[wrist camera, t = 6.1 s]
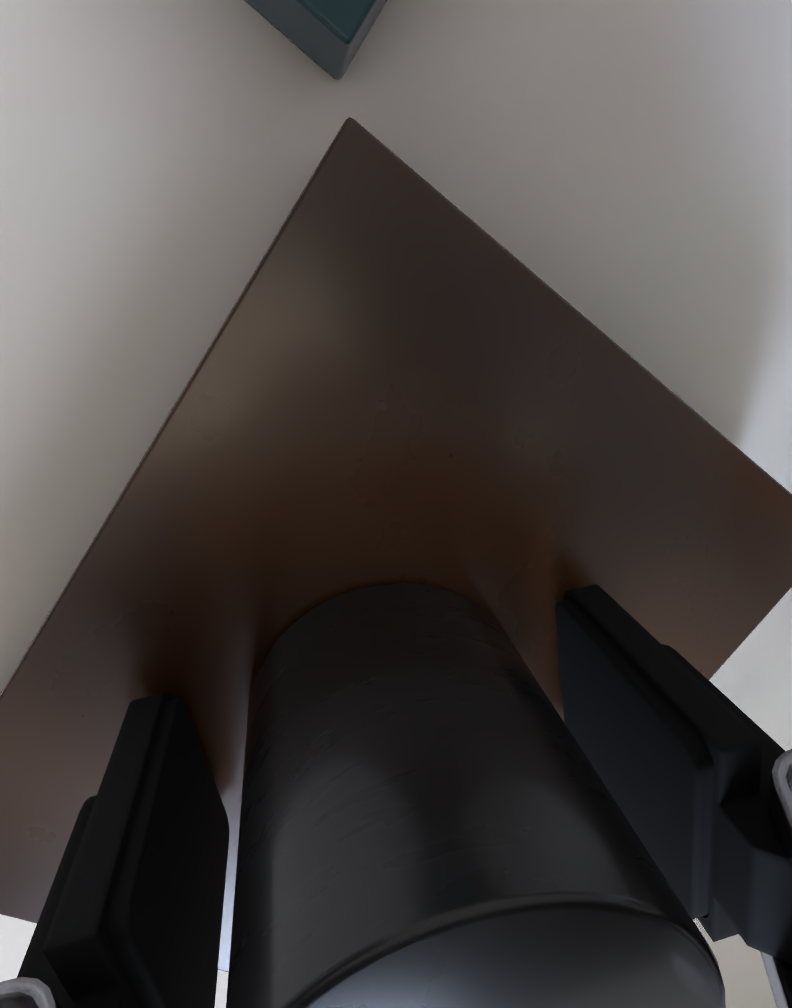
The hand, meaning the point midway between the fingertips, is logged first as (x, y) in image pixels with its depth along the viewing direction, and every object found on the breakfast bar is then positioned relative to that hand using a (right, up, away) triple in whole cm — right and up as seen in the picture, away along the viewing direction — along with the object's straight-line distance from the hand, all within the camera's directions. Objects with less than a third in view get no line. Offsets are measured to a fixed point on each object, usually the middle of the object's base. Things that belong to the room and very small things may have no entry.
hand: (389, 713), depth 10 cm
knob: (0, 0, 0) cm, 0 cm away
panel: (-1, +1, +3) cm, 3 cm away
